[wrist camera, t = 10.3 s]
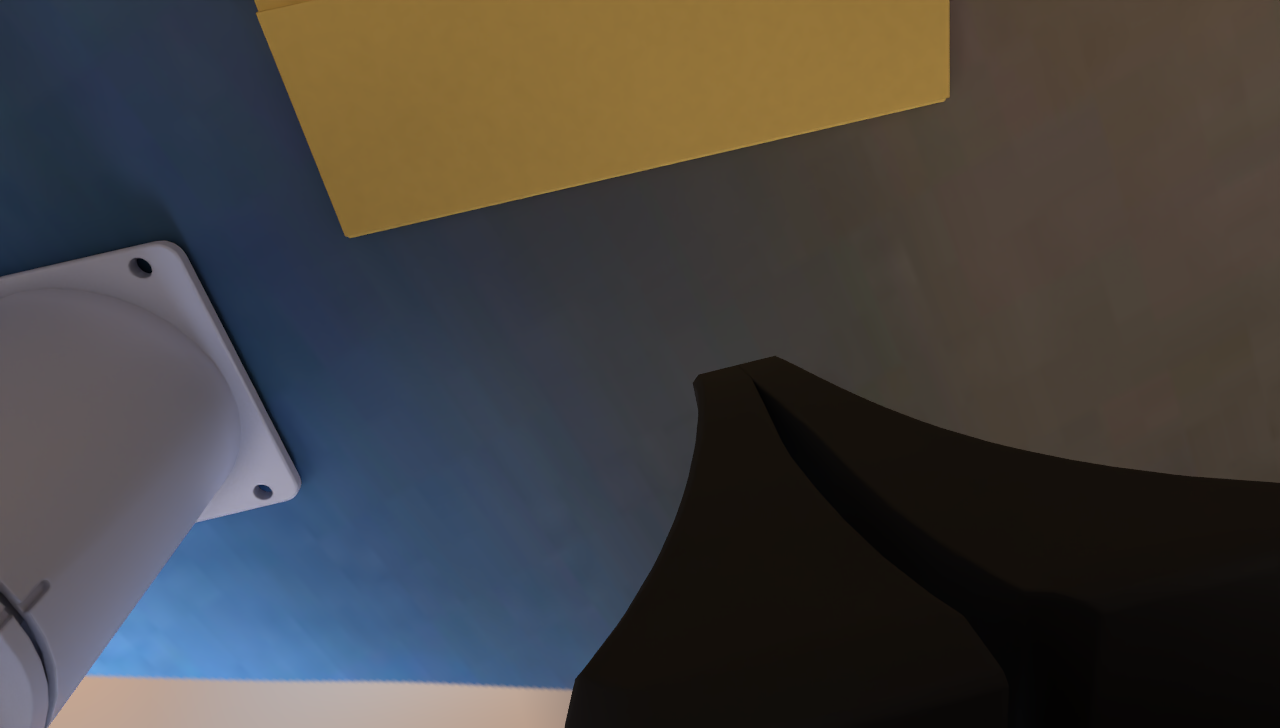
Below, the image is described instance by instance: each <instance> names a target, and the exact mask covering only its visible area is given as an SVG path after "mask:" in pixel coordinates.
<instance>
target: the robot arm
mask: <svg viewBox="0 0 1280 728" xmlns="http://www.w3.org/2000/svg"><path fill="white" fill-rule="evenodd" d="M137 258H142V259H144V260H146V261H147V262H148V263H149V264H150V265H151V268H152V273H146V272H144V271H142V270H141V269H140V268H139V267H138V264H137ZM693 386H694V391H695V396H696V401H697V406H698V425H697V435H696V443H695V449H694V454H693V458H692V463H691V468H690V472H689V477H688V481H687V484H686V488H685V491H684V494H683V497H682V501H681V503H680V506H679V509H678V512H677V515H676V517H675V520H674V523H673V525H672V527H671V529H670V532H669V534H668V536H667V539H666V541H665V543H664V545H663V548H662V550H661V552H660V554H659V556H658V558H657V560H656V562H655V564H654V566H653V568H652V570H651V571H650V573H649V575H648V576H647V578H646V580H645V581H644V583H643V585H642V586H641V588H640V590H639V591H638V593H637V595H636V596H635V598H634V600H633V601H632V603H631V605H630V606H629V608H628V610H627V611H626V613H625V614H624V616H623V617H622V619H621V620H620V622H619V623H618V625H617V626H616V628H615V629H614V630H613V631H612V633H611V634H610V635H609V637H608V638H607V639H606V641H605V642H604V643H603V645H602V646H601V647H600V648H599V650H598V651H597V652H596V654H595V655H594V656H593V658H592V659H591V660H590V662H589V663H588V664H587V665H586V667H585V668H584V669H583V671H582V672H581V673H580V674H579V675H578V676H577V678H576V679H575V683H574V687H573V691H572V695H571V700H570V705H569V709H568V714H567V718H566V723H565V728H1280V483H1273V482H1260V481H1246V480H1232V479H1218V478H1204V477H1191V476H1181V475H1172V474H1165V473H1157V472H1149V471H1142V470H1134V469H1126V468H1119V467H1111V466H1105V465H1099V464H1093V463H1087V462H1081V461H1075V460H1069V459H1064V458H1059V457H1054V456H1050V455H1045V454H1040V453H1035V452H1030V451H1025V450H1021V449H1016V448H1012V447H1008V446H1004V445H1000V444H995V443H991V442H988V441H984V440H981V439H977V438H974V437H970V436H967V435H963V434H960V433H957V432H953V431H950V430H946V429H943V428H940V427H937V426H934V425H931V424H928V423H925V422H922V421H919V420H917V419H914V418H911V417H909V416H906V415H904V414H901V413H898V412H896V411H893V410H891V409H888V408H885V407H883V406H881V405H878V404H876V403H874V402H871V401H869V400H866V399H864V398H862V397H860V396H857V395H855V394H853V393H851V392H849V391H847V390H844V389H842V388H840V387H838V386H836V385H834V384H832V383H830V382H828V381H826V380H824V379H822V378H820V377H818V376H816V375H814V374H812V373H809V372H807V371H806V370H804V369H802V368H800V367H798V366H796V365H794V364H791V363H789V362H787V361H785V360H783V359H781V358H779V357H776V356H773V357H768V358H764V359H760V360H756V361H752V362H748V363H744V364H740V365H736V366H732V367H728V368H724V369H720V370H716V371H712V372H708V373H704V374H700V375H698V376H697V378H696V379H695V381H694V382H693ZM259 485H266V486H268V487H270V489H271V490H272V491H271V492H266V491H264V490H262V489H261V488H260V487H259ZM300 487H301V479H300V476H299V474H298V472H297V470H296V468H295V466H294V464H293V462H292V460H291V458H290V456H289V454H288V453H287V451H286V449H285V447H284V445H283V443H282V441H281V439H280V437H279V435H278V433H277V431H276V429H275V427H274V425H273V423H272V421H271V419H270V417H269V415H268V413H267V411H266V410H265V408H264V406H263V404H262V402H261V400H260V398H259V396H258V394H257V392H256V390H255V388H254V386H253V384H252V382H251V380H250V378H249V376H248V374H247V372H246V370H245V368H244V367H243V365H242V363H241V361H240V359H239V357H238V355H237V353H236V351H235V349H234V347H233V345H232V343H231V341H230V339H229V337H228V335H227V333H226V331H225V329H224V327H223V325H222V323H221V322H220V320H219V318H218V316H217V314H216V312H215V310H214V308H213V306H212V304H211V302H210V300H209V298H208V296H207V294H206V292H205V290H204V288H203V286H202V284H201V282H200V280H199V279H198V277H197V275H196V273H195V271H194V269H193V267H192V265H191V263H190V261H189V259H188V257H187V255H186V254H185V252H184V251H183V250H182V248H180V247H179V246H177V245H176V244H174V243H172V242H169V241H154V242H150V243H145V244H141V245H137V246H132V247H128V248H123V249H119V250H115V251H110V252H106V253H102V254H97V255H93V256H88V257H84V258H80V259H75V260H71V261H67V262H62V263H58V264H54V265H49V266H45V267H40V268H36V269H32V270H27V271H23V272H19V273H14V274H10V275H6V276H1V277H0V728H48V727H49V725H50V724H51V722H52V721H53V720H54V718H55V717H56V715H57V714H58V712H59V711H60V710H61V708H62V707H63V706H64V704H65V703H66V701H67V700H68V699H69V697H70V696H71V694H72V693H73V692H74V690H75V689H76V687H77V686H78V685H79V683H80V682H81V680H82V679H83V678H84V676H85V675H86V674H87V672H88V671H89V670H90V668H91V667H92V665H93V664H94V663H95V661H96V660H97V658H98V657H99V656H100V654H101V653H102V651H103V650H104V649H105V647H106V646H107V645H108V643H109V642H110V640H111V639H112V638H113V636H114V635H115V633H116V632H117V631H118V629H119V628H120V626H121V625H122V624H123V622H124V621H125V619H126V618H127V617H128V615H129V614H130V613H131V611H132V610H133V608H134V607H135V606H136V604H137V603H138V601H139V600H140V599H141V597H142V596H143V594H144V593H145V592H146V590H147V589H148V588H149V586H150V585H151V583H152V582H153V581H154V579H155V578H156V576H157V575H158V574H159V572H160V571H161V569H162V568H163V567H164V565H165V564H166V563H167V561H168V560H169V558H170V557H171V556H172V554H173V553H174V551H175V550H176V549H177V547H178V546H179V544H180V543H181V542H182V540H183V539H184V537H185V536H186V535H187V533H188V532H189V531H190V529H191V528H192V526H193V525H194V524H195V523H196V522H200V521H204V520H208V519H213V518H217V517H221V516H225V515H229V514H234V513H238V512H242V511H246V510H250V509H254V508H259V507H263V506H267V505H271V504H275V503H279V502H284V501H288V500H290V499H292V498H294V497H295V496H296V494H297V493H298V491H299V489H300Z"/></svg>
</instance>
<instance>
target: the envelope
mask: <svg viewBox="0 0 1280 728" xmlns="http://www.w3.org/2000/svg"><path fill="white" fill-rule="evenodd" d="M254 1H255V4H256V6H257V9H258V11H259V12H256V15H257V17H258V20H259V22H260V25H261V27H262V30H263V32H264V35H265V37H266V40H267V42H268V45H269V47H270V50H271V52H272V55H273V57H274V60H275V62H276V65H277V67H278V70H279V72H280V75H281V77H282V80H283V82H284V85H285V87H286V90H287V92H288V95H289V97H290V100H291V102H292V105H293V107H294V110H295V112H296V115H297V117H298V120H299V122H300V125H301V127H302V130H303V132H304V135H305V137H306V140H307V142H308V145H309V147H310V150H311V152H312V155H313V157H314V160H315V162H316V165H317V167H318V170H319V172H320V175H321V177H322V180H323V182H324V185H325V187H326V190H327V192H328V195H329V197H330V200H331V202H332V205H333V207H334V210H335V212H336V215H337V217H338V220H339V222H340V225H341V227H342V230H343V232H344V235H345V236H346V237H347V236H348V237H349V238H353V237H357V236H361V235H366V234H370V233H375V232H379V231H383V230H388V229H392V228H396V227H401V226H405V225H409V224H414V223H418V222H422V221H427V220H431V219H435V218H440V217H444V216H448V215H453V214H457V213H461V212H466V211H470V210H474V209H479V208H483V207H487V206H492V205H496V204H500V203H505V202H509V201H513V200H518V199H522V198H526V197H531V196H535V195H539V194H544V193H548V192H552V191H557V190H561V189H565V188H570V187H574V186H578V185H583V184H587V183H591V182H596V181H600V180H604V179H609V178H613V177H618V176H622V175H626V174H631V173H635V172H639V171H644V170H648V169H652V168H657V167H661V166H665V165H670V164H674V163H678V162H683V161H687V160H691V159H696V158H700V157H704V156H709V155H713V154H717V153H722V152H726V151H730V150H735V149H739V148H743V147H748V146H752V145H756V144H761V143H765V142H769V141H774V140H778V139H782V138H787V137H791V136H795V135H800V134H804V133H808V132H813V131H817V130H821V129H826V128H830V127H834V126H839V125H843V124H847V123H852V122H856V121H861V120H865V119H869V118H874V117H878V116H882V115H887V114H891V113H895V112H900V111H904V110H908V109H913V108H917V107H921V106H926V105H930V104H934V103H939V102H943V101H945V99H946V98H949V97H950V17H949V0H254Z"/></svg>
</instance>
